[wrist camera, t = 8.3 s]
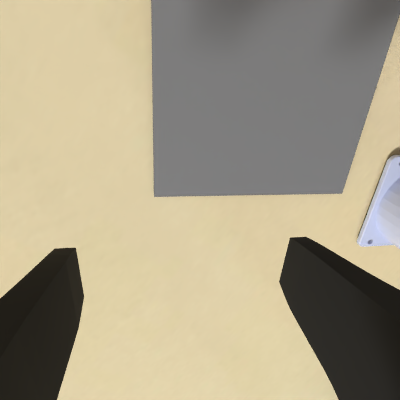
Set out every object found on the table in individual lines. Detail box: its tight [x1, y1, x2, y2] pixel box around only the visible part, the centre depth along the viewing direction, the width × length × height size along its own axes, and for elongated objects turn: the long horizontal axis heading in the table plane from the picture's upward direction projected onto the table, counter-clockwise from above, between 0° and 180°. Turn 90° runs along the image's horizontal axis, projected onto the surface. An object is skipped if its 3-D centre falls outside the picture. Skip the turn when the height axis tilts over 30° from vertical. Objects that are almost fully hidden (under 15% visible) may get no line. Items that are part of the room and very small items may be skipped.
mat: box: [151, 0, 400, 197], centre depth 17 cm, size 14×12×1 cm
